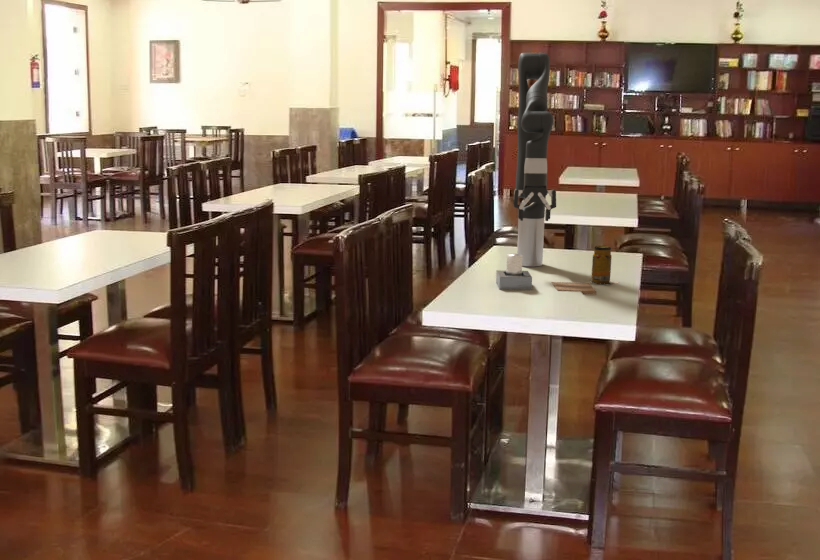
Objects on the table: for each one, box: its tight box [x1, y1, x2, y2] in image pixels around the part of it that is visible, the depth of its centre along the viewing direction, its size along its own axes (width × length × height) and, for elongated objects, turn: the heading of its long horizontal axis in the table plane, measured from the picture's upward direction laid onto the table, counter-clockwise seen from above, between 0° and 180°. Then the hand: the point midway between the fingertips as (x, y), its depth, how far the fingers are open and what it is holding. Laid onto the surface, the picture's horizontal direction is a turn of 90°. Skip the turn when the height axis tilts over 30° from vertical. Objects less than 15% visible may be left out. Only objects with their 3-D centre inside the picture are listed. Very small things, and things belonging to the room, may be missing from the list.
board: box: [551, 281, 597, 295], centre depth 291 cm, size 12×12×1 cm
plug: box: [505, 253, 523, 276], centre depth 290 cm, size 5×5×10 cm
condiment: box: [587, 245, 620, 286], centre depth 302 cm, size 7×8×12 cm
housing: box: [495, 269, 533, 291], centre depth 290 cm, size 10×10×5 cm
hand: (533, 220), depth 309 cm, fingers open, 8 cm apart
